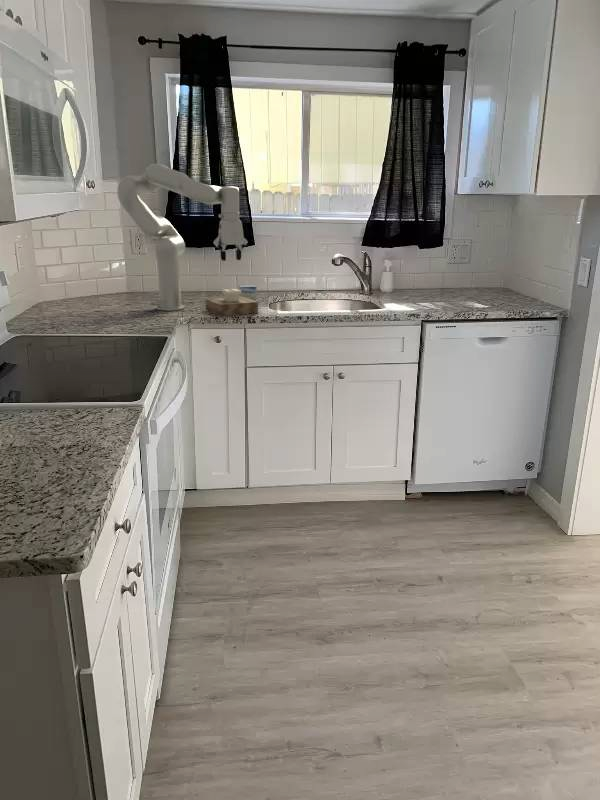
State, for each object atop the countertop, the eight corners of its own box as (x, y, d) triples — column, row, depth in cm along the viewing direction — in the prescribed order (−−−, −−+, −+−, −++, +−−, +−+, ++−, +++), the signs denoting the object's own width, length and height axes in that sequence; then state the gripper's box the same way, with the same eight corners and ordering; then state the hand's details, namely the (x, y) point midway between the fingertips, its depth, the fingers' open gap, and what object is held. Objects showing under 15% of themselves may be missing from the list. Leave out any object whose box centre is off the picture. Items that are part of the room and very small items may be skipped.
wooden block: (220, 316, 263) (220, 304, 261) (206, 310, 276) (205, 299, 274) (258, 313, 271) (257, 301, 270) (242, 307, 284) (242, 296, 283)
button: (228, 305, 268) (227, 291, 266) (222, 303, 274) (221, 289, 272) (241, 304, 271) (241, 290, 269) (235, 302, 277) (235, 288, 275)
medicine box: (240, 305, 290) (240, 286, 287) (238, 303, 294) (238, 285, 291) (256, 304, 292) (256, 286, 289) (254, 303, 296) (254, 285, 293)
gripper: (214, 217, 254) (215, 261, 259) (252, 217, 262) (252, 260, 268) (208, 216, 260) (209, 260, 265) (245, 216, 268) (245, 258, 274)
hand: (231, 259), depth 266 cm, fingers open, 6 cm apart
